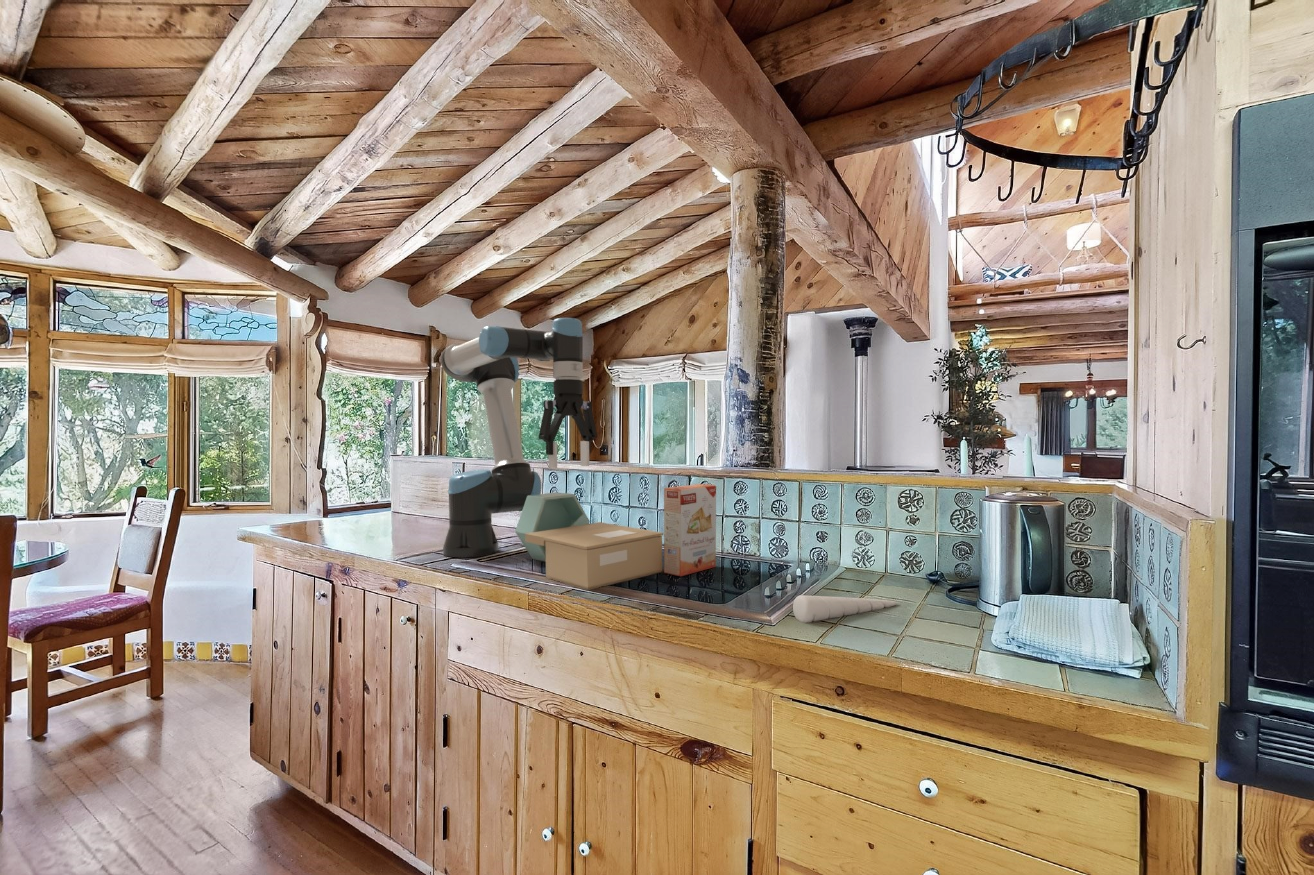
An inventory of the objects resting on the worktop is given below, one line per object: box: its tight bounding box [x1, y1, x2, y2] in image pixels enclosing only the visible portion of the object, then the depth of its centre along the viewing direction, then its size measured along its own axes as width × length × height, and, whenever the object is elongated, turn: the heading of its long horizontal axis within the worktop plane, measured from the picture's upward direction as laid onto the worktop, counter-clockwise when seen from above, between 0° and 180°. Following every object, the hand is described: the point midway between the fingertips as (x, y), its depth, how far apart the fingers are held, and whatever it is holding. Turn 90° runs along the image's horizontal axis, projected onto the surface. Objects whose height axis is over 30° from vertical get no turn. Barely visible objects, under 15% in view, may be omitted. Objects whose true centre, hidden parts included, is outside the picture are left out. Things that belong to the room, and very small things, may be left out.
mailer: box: [545, 535, 663, 591], centre depth 144 cm, size 16×23×9 cm
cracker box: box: [663, 483, 717, 577], centre depth 148 cm, size 14×6×21 cm, turn 137°
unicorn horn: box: [792, 594, 899, 624], centre depth 113 cm, size 5×24×5 cm, turn 110°
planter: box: [514, 491, 591, 563], centre depth 164 cm, size 17×8×21 cm
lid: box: [525, 521, 664, 550], centre depth 147 cm, size 25×24×2 cm
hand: (569, 466), depth 154 cm, fingers open, 9 cm apart
